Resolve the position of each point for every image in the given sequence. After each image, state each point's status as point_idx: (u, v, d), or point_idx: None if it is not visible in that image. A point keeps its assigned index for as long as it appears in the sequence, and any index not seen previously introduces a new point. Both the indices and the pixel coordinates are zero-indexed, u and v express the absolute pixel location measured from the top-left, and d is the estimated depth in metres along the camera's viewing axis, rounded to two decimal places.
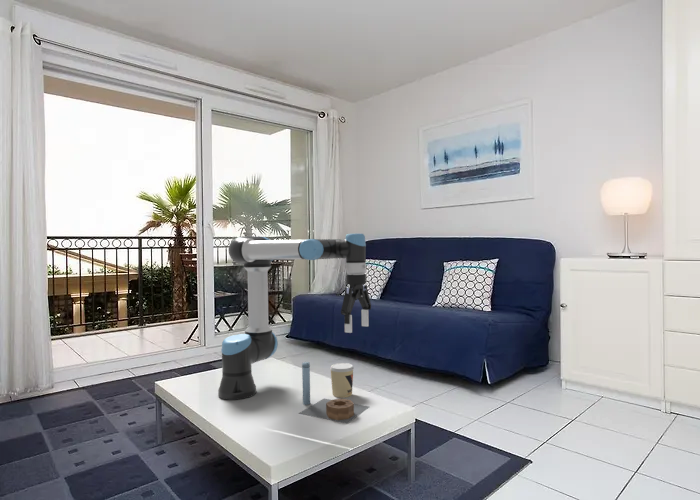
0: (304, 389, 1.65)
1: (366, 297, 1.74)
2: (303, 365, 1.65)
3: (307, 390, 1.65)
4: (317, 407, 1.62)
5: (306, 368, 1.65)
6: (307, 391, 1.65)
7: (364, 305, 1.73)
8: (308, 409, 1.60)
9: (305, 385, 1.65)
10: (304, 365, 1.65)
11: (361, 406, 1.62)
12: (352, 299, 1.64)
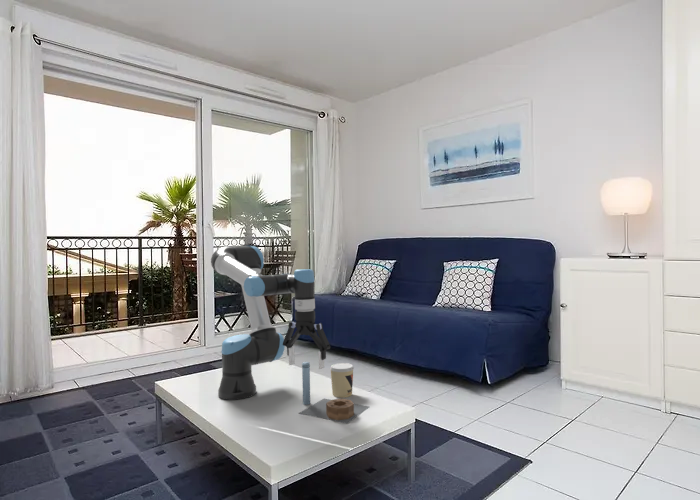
0: (304, 389, 1.65)
1: None
2: (303, 365, 1.65)
3: (307, 390, 1.65)
4: (317, 407, 1.62)
5: (306, 368, 1.65)
6: (307, 391, 1.65)
7: None
8: (308, 409, 1.60)
9: (305, 385, 1.65)
10: (304, 365, 1.65)
11: (361, 406, 1.62)
12: None
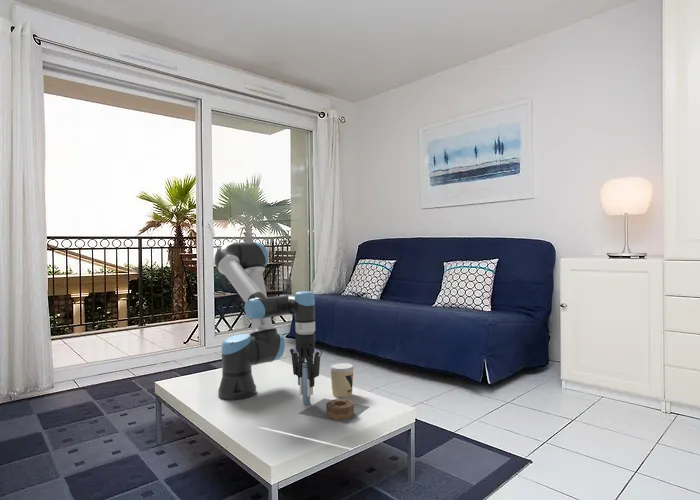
0: (304, 389, 1.65)
1: None
2: (303, 365, 1.65)
3: None
4: (317, 407, 1.62)
5: (306, 368, 1.65)
6: None
7: None
8: (308, 409, 1.60)
9: (305, 385, 1.65)
10: (304, 365, 1.65)
11: (361, 406, 1.62)
12: None
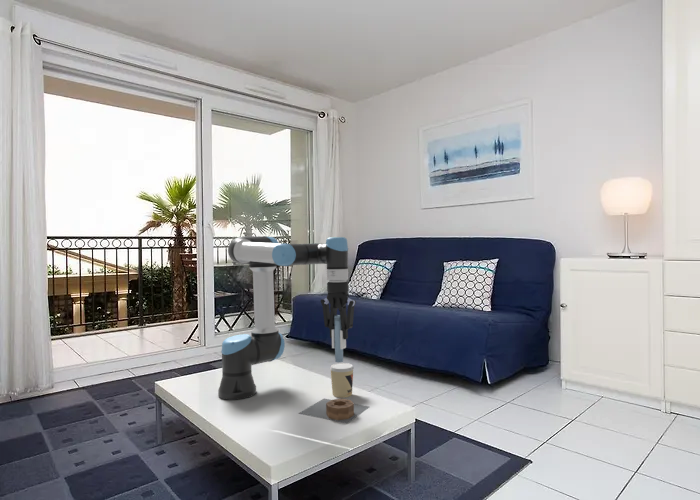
0: (337, 344, 1.53)
1: None
2: (335, 318, 1.53)
3: (339, 345, 1.53)
4: (317, 407, 1.62)
5: (339, 321, 1.53)
6: None
7: None
8: (308, 409, 1.60)
9: (338, 339, 1.53)
10: (337, 318, 1.53)
11: (361, 406, 1.62)
12: None
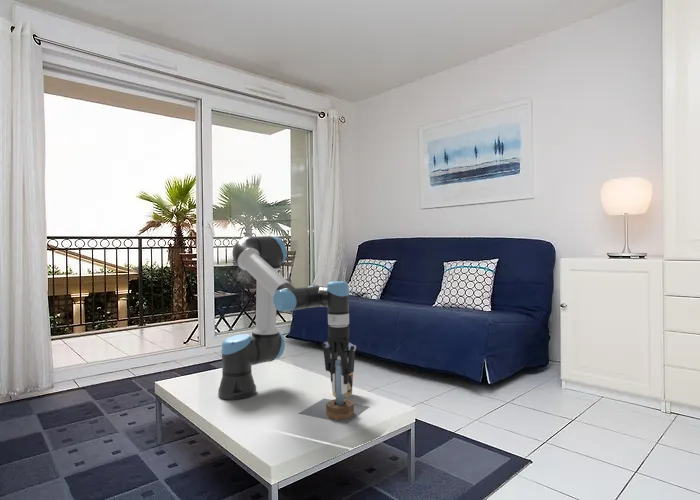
0: (338, 388, 1.53)
1: None
2: (336, 362, 1.53)
3: (340, 389, 1.53)
4: (317, 407, 1.62)
5: (340, 366, 1.53)
6: None
7: None
8: (308, 409, 1.60)
9: (339, 384, 1.53)
10: (338, 362, 1.53)
11: (361, 406, 1.62)
12: None
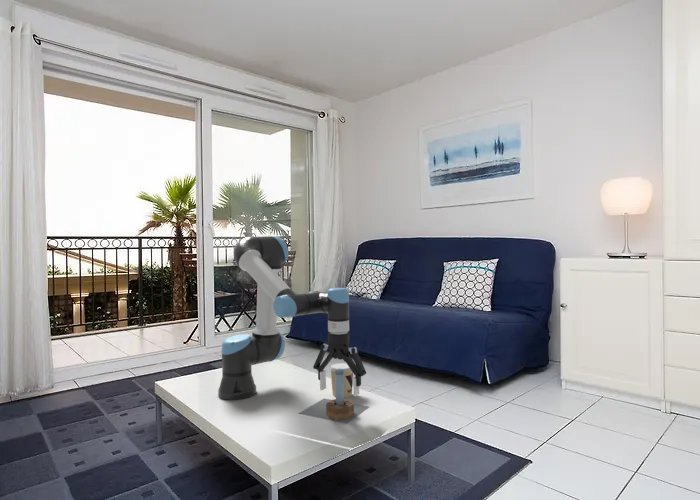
0: (338, 398, 1.53)
1: None
2: (336, 372, 1.53)
3: (340, 399, 1.53)
4: (317, 407, 1.62)
5: (340, 375, 1.53)
6: (341, 400, 1.53)
7: None
8: (308, 409, 1.60)
9: (339, 393, 1.53)
10: (338, 372, 1.53)
11: (361, 406, 1.62)
12: (327, 357, 1.56)
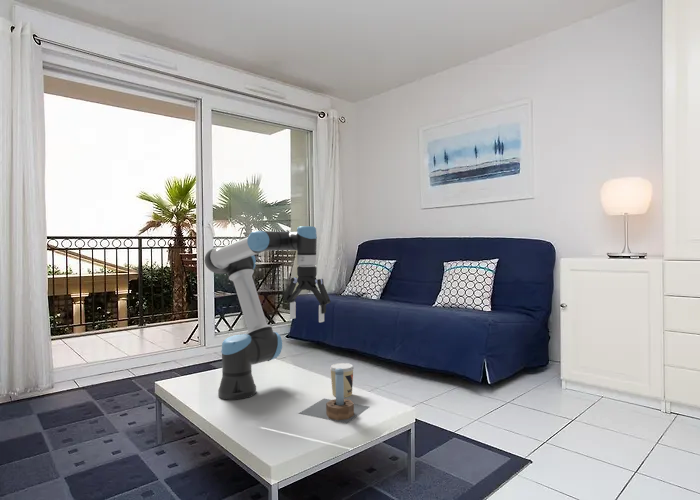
0: (338, 398, 1.53)
1: None
2: (336, 372, 1.53)
3: (340, 399, 1.53)
4: (317, 407, 1.62)
5: (340, 375, 1.53)
6: (341, 400, 1.53)
7: None
8: (308, 409, 1.60)
9: (339, 393, 1.53)
10: (338, 372, 1.53)
11: (361, 406, 1.62)
12: None
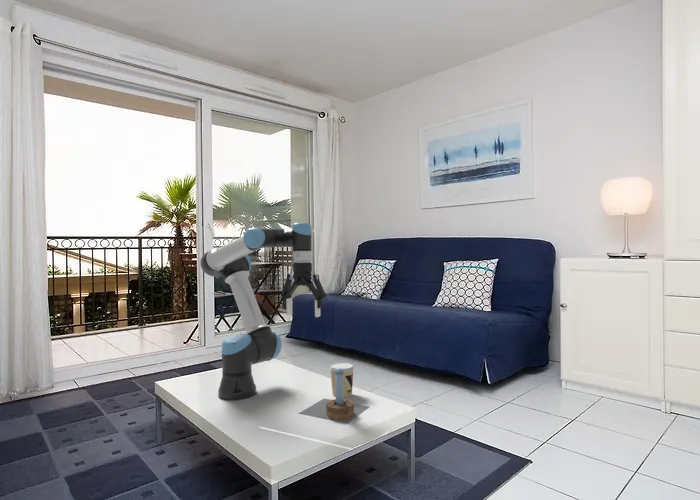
0: (338, 398, 1.53)
1: None
2: (336, 372, 1.53)
3: (340, 399, 1.53)
4: (317, 407, 1.62)
5: (340, 375, 1.53)
6: (341, 400, 1.53)
7: None
8: (308, 409, 1.60)
9: (339, 393, 1.53)
10: (338, 372, 1.53)
11: (361, 406, 1.62)
12: None
